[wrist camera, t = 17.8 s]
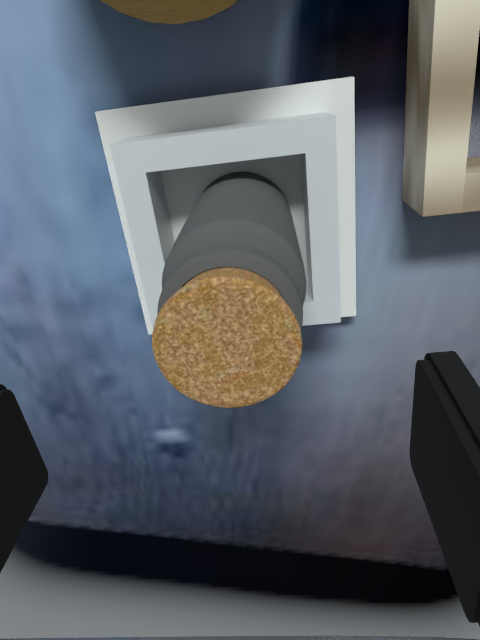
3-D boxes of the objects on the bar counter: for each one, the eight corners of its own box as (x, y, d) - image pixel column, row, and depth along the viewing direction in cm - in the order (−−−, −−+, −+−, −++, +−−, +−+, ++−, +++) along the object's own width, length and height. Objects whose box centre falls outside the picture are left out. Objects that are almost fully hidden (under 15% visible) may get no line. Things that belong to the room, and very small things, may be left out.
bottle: (288, 164, 26) (317, 250, 13) (294, 262, 29) (323, 417, 15) (186, 176, 27) (112, 269, 13) (201, 270, 29) (152, 428, 16)
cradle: (101, 110, 26) (71, 115, 22) (350, 76, 25) (368, 75, 21) (152, 326, 33) (136, 361, 28) (352, 307, 31) (367, 342, 27)
